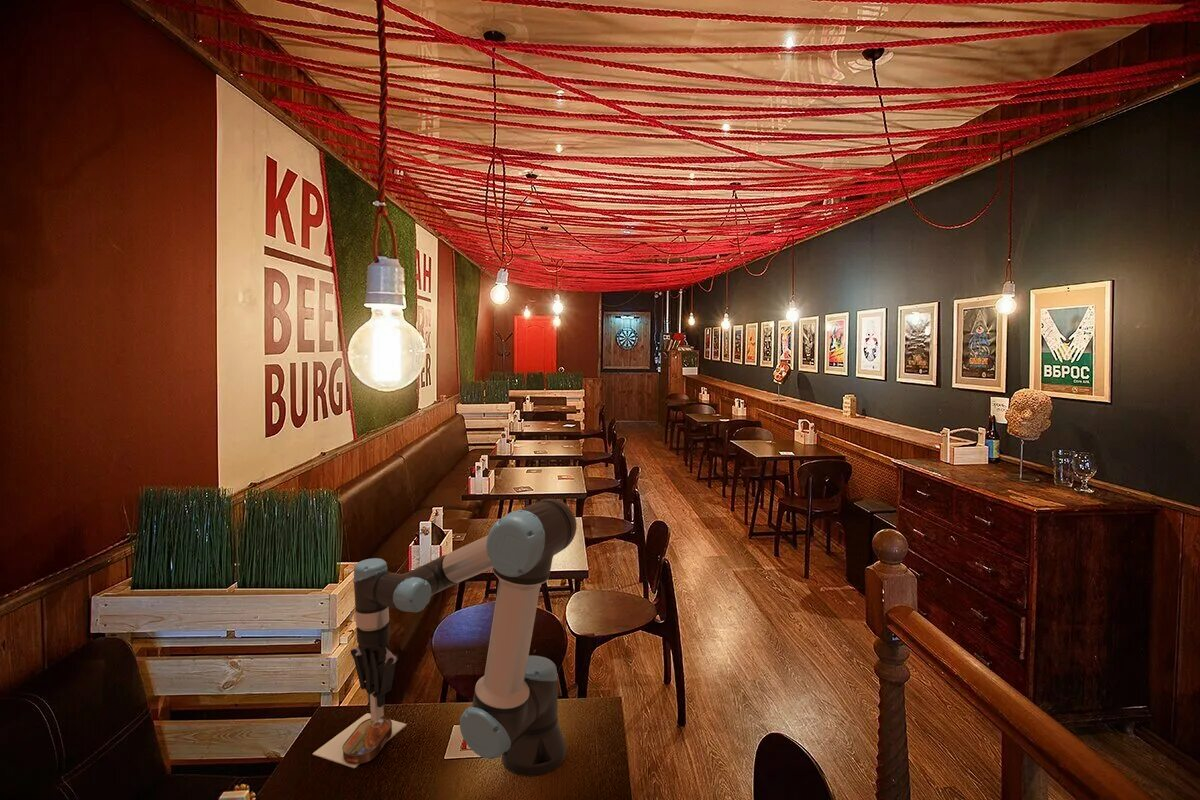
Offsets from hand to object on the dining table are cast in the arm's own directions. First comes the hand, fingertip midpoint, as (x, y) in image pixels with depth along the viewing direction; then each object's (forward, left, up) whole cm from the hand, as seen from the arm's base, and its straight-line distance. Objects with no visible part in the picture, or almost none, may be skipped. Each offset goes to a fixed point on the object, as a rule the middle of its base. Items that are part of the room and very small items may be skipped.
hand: (377, 717), depth 158 cm
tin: (-2, 0, -6) cm, 6 cm away
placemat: (+5, 0, -7) cm, 9 cm away
